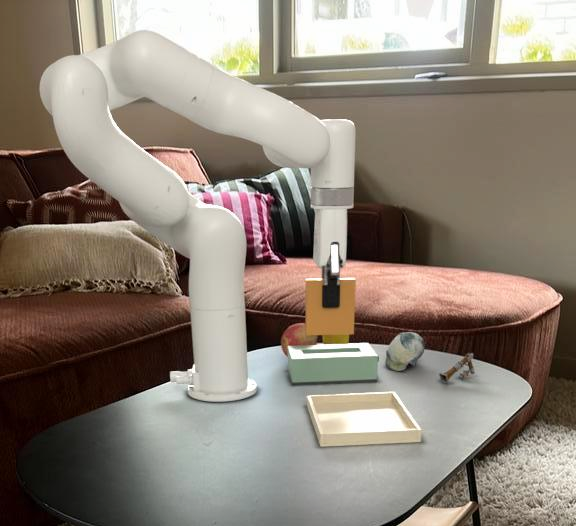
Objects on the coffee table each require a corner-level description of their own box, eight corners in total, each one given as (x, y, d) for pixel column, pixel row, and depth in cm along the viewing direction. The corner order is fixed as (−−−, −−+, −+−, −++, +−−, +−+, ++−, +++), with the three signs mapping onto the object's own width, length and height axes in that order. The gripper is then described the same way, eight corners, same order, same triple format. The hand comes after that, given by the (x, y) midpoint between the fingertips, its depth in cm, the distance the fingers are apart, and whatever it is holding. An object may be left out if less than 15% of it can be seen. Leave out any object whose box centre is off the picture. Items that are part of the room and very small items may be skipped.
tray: (320, 446, 113) (320, 434, 112) (306, 406, 130) (306, 395, 130) (421, 442, 114) (421, 429, 113) (394, 402, 131) (394, 391, 131)
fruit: (305, 370, 151) (305, 329, 148) (273, 364, 155) (272, 325, 152) (326, 361, 157) (326, 322, 153) (295, 356, 161) (295, 318, 157)
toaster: (292, 385, 142) (291, 358, 140) (287, 370, 151) (287, 345, 149) (382, 381, 143) (383, 355, 141) (372, 367, 152) (373, 342, 150)
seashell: (382, 377, 151) (405, 362, 160) (415, 366, 146) (437, 351, 156) (371, 347, 150) (395, 333, 159) (404, 334, 145) (426, 321, 154)
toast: (306, 335, 142) (306, 280, 138) (305, 333, 144) (305, 278, 139) (353, 334, 143) (355, 279, 138) (352, 332, 144) (354, 277, 140)
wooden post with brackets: (480, 371, 145) (475, 351, 142) (450, 394, 143) (445, 374, 140) (473, 369, 146) (468, 349, 143) (444, 392, 144) (438, 372, 141)
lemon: (336, 350, 165) (336, 313, 161) (354, 355, 161) (354, 317, 157) (317, 355, 161) (317, 317, 158) (334, 360, 158) (335, 321, 154)
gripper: (306, 196, 140) (305, 299, 148) (315, 202, 126) (314, 315, 134) (346, 196, 140) (343, 298, 148) (360, 201, 126) (356, 314, 134)
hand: (330, 305), depth 141 cm, fingers closed on toast, 1 cm apart
